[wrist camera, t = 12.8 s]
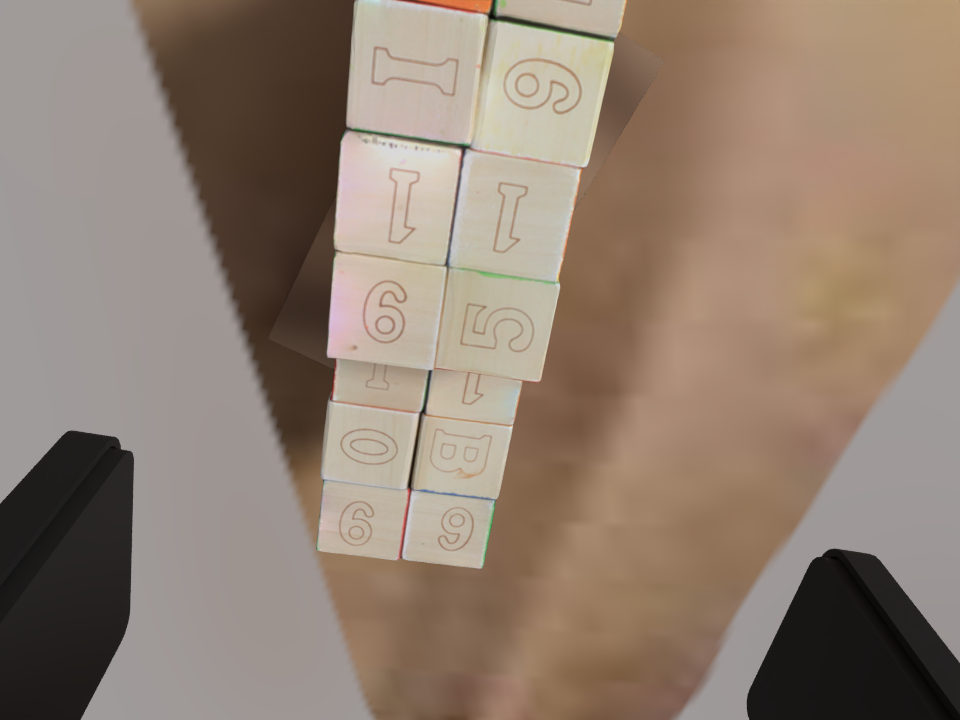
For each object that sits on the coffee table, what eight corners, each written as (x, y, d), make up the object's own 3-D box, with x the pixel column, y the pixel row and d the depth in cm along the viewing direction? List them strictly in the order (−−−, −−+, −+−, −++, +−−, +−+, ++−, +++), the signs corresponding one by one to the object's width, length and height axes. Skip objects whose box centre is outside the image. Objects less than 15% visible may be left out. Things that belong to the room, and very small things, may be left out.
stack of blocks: (475, 444, 36) (485, 635, 25) (342, 425, 36) (292, 614, 24) (575, -61, 28) (659, -114, 16) (404, -96, 27) (370, -177, 16)
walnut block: (458, -56, 32) (460, -68, 28) (636, 55, 34) (664, 60, 30) (289, 300, 38) (267, 338, 34) (447, 376, 40) (447, 422, 36)
